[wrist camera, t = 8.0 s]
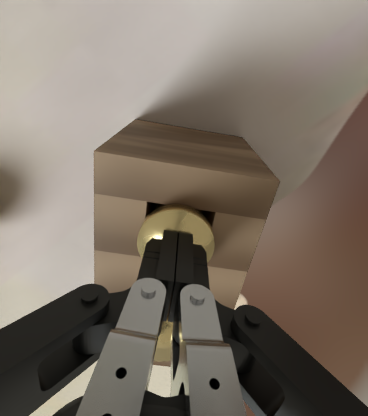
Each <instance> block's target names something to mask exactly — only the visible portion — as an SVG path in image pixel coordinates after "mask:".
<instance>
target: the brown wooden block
mask: <svg viewBox="0 0 368 416" xmlns="http://www.w3.org/2000/svg"><path fill="white" fill-rule="evenodd" d="M279 183H280V181H279V179H278V178H277V177H276V176H275V175H274V174H273V172H272V171H271V170H270V169H269V168H268V167H267V165H266V164H265V163H264V162H263V161H262V160H261V159H260V157H259V156H258V155H257V154H256V153H255V152H254V150H253V149H252V148H251V147H250V146H249V145H248V143H247V142H246V141H245V140H244V139H243V138H242V137H236V136H231V135H225V134H219V133H213V132H207V131H201V130H195V129H189V128H184V127H178V126H172V125H166V124H160V123H154V122H148V121H142V120H137V119H135V120H134V121H132V122H131V123H130V124H129V125H127V126H126V127H125V128H123V129H122V130H121V131H119V132H118V133H117V134H115V135H114V136H113V137H112V138H110V139H109V140H108V141H106V142H105V143H104V144H102V145H101V146H100V147H98V148H97V149H96V150H95V151H94V284H98V285H101V286H103V287H105V288H106V289H107V290H108V292H109V293H114V292H121V291H124V290H127V289H129V288H130V287H132V285H133V284H134V283H135V282H136V280H137V277H138V273H139V270H140V266H141V262H142V258H141V256H140V254H139V251H138V248H137V238H138V234H139V231H140V228H141V225H142V223H143V221H144V219H145V218H146V217H147V216H148V215H149V214H150V213H151V212H152V211H154V210H155V208H156V204H157V203H159V204H166V205H172V204H179V205H185V206H189V207H192V208H194V209H199V210H202V214H203V215H204V216H205V217H206V218H207V219H208V221H209V222H210V224H211V226H212V230H213V236H214V243H215V247H214V252H213V255H212V257H211V259H210V260H209V262H208V263H207V267H208V275H209V286H210V291H211V292H212V294H213V295H214V298H215V300H216V301H218V302H219V303H220V304H222V305H224V306H226V307H229V308H231V309H233V310H234V308H235V305H236V302H237V299H238V297H239V294H240V291H241V288H242V285H243V283H244V280H245V277H246V274H247V272H248V269H249V266H250V263H251V261H252V258H253V255H254V252H255V249H256V247H257V243H258V241H259V238H260V236H261V233H262V230H263V227H264V224H265V222H266V219H267V216H268V213H269V210H270V208H271V205H272V202H273V199H274V197H275V194H276V191H277V188H278V186H279ZM168 314H169V310H168ZM153 365H160V366H169V367H171V361H166V362H155V361H153Z"/></svg>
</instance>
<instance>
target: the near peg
mask: <svg viewBox="0 0 368 416" xmlns="http://www.w3.org/2000/svg"><path fill="white" fill-rule="evenodd" d="M164 230H169V231H176V232H178V234H179V232H183V233H190V234H193V244H198V245H202V246H203V248H204V249H205V251H206V254H207V263H208V262H209V260H210V259H211V257H212V255H213V252H214V247H215V243H214V236H213V230H212V226H211V224H210V222H209V221H208V219H207V218H206V217H205V216H204V215H203V214H202V210H199V209H194V208H192V207H189V206H185V205H179V204H172V205H166V204H159V203H157V204H156V208H155V210H154V211H152V212H151V213H150V214H149V215H148V216H147V217H146V218H145V219H144V221H143V223H142V225H141V228H140V231H139V234H138V238H137V248H138V251H139V254H140V256H141V258H143V254H144V251H145V247H146V243H147V242H148V241H149V240H151V239H152V238H156V239H162V238H163V232H164ZM177 239H178V237H177Z"/></svg>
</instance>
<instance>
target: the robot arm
mask: <svg viewBox="0 0 368 416" xmlns="http://www.w3.org/2000/svg"><path fill="white" fill-rule="evenodd" d="M177 237H178V239H177ZM168 310H169V314H168ZM167 315H168V322H173V331H172V335H171V392H170V397H161V396H159V395H156V394H154V393H152V392H149V391H148V386H149V381H150V376H151V371H152V366H153V361H154V356H155V352H156V347H157V342H158V337H159V335H160V333H161V329H162V323H163V321H166V320H167ZM97 360H98V362H97V364H96V367H95V369H94V372H93V374H92V377H91V379H90V381H89V384H88V386H87V389H86V391H85V394H84V396H81V397H79V398H77V399H75V400H73V401H72V402H70V403H68V404H67V405H65V406H64V407H63V408H61V409H60V410H58V411H57V412H56V413H55V414H54V415H53V416H247V415H246V411H245V406H244V402H243V400H244V401H245V403H246V404H247V405H248V406H249V408H250V409H251V410H252V412H253V413H254V414H255V415H256V416H368V407H367V406H366V405H365V404H364V403H363V402H361V401H360V400H359V399H358V398H357V397H356V396H355V395H354V394H353V393H352V392H350V391H349V390H348V389H347V388H346V387H345V386H344V385H343V384H342V383H341V382H339V381H338V380H337V379H336V378H335V377H334V376H333V375H332V374H331V373H330V372H329V371H327V370H326V369H325V368H324V367H323V366H322V365H321V364H320V363H319V362H318V361H316V360H315V359H314V358H313V357H312V356H311V355H310V354H309V353H308V352H307V351H305V350H304V349H303V348H302V347H301V346H300V345H299V344H297V342H296V341H294V340H293V339H292V338H291V337H290V336H289V335H288V334H287V333H286V332H284V330H282V329H281V328H280V327H279V326H278V325H277V324H276V323H275V322H274V321H272V320H271V319H270V318H269V317H268V316H267V315H266V314H265V313H264V312H263V311H261V310H260V309H258V308H256V307H254V306H250V305H242V306H239V307H238V308H237V309H236V310H233V309H231V308H229V307H226V306H224V305H222V304H220V303H219V302H218V301H216V300H215V298H214V295H213V294H212V292H211V291H210V286H209V275H208V267H207V254H206V251H205V249H204V248H203V246H202V245H198V244H193V234H190V233H183V232H179V234H178V232H176V231H169V230H164V232H163V238H162V239H156V238H152V239H151V240H149V241H148V242H147V243H146V247H145V251H144V254H143V258H142V262H141V266H140V270H139V273H138V277H137V280H136V282H135V283H134V284H133V285H132V287H130V288H129V289H127V290H124V291H121V292H114V293H109V292H108V290H107V289H106V288H105V287H103V286H101V285H98V284H86V285H83V286H80V287H78V288H76V289H75V290H73V291H71V292H69V293H67V294H65V295H63V296H62V297H60V298H58V299H56V300H54V301H52V302H50V303H48V304H47V305H45V306H43V307H41V308H39V309H37V310H35V311H34V312H32V313H30V314H28V315H26V316H24V317H22V318H20V319H19V320H17V321H15V322H13V323H11V324H9V325H7V326H6V327H4V328H2V329H0V416H29V415H30V414H31V413H33V412H34V411H35V410H36V409H38V408H39V407H40V406H41V405H43V404H44V403H45V402H46V401H47V400H49V399H50V398H51V397H52V396H54V395H55V394H56V393H57V392H59V391H60V390H61V389H62V388H64V387H65V386H66V385H67V384H68V383H70V382H71V381H72V380H73V379H75V378H76V377H77V376H78V375H80V374H81V373H82V372H83V371H85V370H86V369H87V368H88V367H89V366H91V365H92V364H93V363H94V362H96V361H97Z"/></svg>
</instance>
